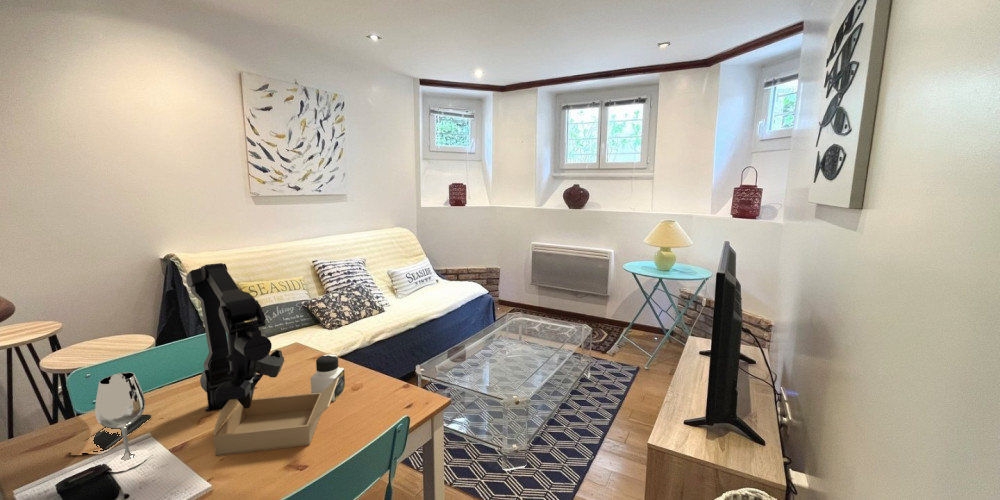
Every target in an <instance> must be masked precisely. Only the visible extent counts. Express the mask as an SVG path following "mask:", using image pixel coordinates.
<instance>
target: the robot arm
mask: <svg viewBox="0 0 1000 500" xmlns="http://www.w3.org/2000/svg"><path fill="white" fill-rule="evenodd" d="M185 281H186V285H187V287H188V288H190V292H191V294H192V295H193V296H194V297H195V299H197V300H198V301H199V302H200V306H201V313H202V318H203V326H204V331H205V336H206V337H205V338H206V341H207V348H208V349H207V350H208V354H207V356H206V358H205V360H204V362H203V370H202V373H201V376H200V377H199V378H200V379H199V382H200V387H201V388H202V389H203V390H204V392H205V393H206V398H207V407H206V408H205V410H204V411H205V412H213V411H214V412H215V411H221V409H222V408H223V407H224V406H225V405H226V403H227V402H228V401H229V400H233V399H237V400H238V401H239V402H240V403H241V405H242V406H243V407H244V408H245V409H246V408H250V406H251V402H252V399H254V398H253V397H254V393H255V388H256V386H257V384H258V383H259V382H260V380H261V379H262V378H263V376H267V377H269V378H273V379H274V378H277V376H278V375H279V374H280V372H281V370H282V367H283V365H284V362H285V356H283V352H282V350H280V349H275V350H274V351H272V352H271V350H272V346H273V344H272V342H271V340H270V339H269V338H268V337H267V336H265V335H264V334H262V330H261V329H259V328H261V327H265V326H266V315H265V313H264V311H263V307H262V306H261V304H260V302H259V301H258V300H257V299H255V297H254V296H253V295H252V294H251V293H250V292H247V291H243V290H241V288H240V287H239V286H238V284H237V283H236V282H235V280H234V279H233V277H232V276H231V274H230V273H229V272H228V266H227V264H226V263H222V262H219V263H211V264H204V265H201V266H200V267H199V268H197V269H191V270H190V271H189V272H188V273H186V277H185ZM255 319H256V320H255ZM270 352H271V353H270Z"/></svg>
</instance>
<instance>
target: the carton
mask: <svg viewBox="0 0 1000 500" xmlns="http://www.w3.org/2000/svg"><path fill="white" fill-rule="evenodd" d="M321 394H322V393H303V394H301V393H300V394H292V395H280V396H271V397H269V396H268V397H261V398H252V402H251V406H250V408H246V409H245V408H244V407H243V406H242V405H241V403H239V404H238V405H237V407H236V408H235V409H234V410H233V412H232V413H231V414H230V415H229V417H228V418H227V419H226V421H225V422H224V423H223V424H222V426H221V427H220V428H219V429H218V431H217V432H216V433H215V435H214V434H213V442H214V444H213V445H214V453H215V455H214V456H215V457H221V456H229V455H238V454H246V453H255V452H261V451H262V452H264V451H271V450H278V449H287V448H295V447H304V446H310V445H311V443H312V441H313V440H312V439H313V438H314V435H315V431H316V430H317V427H318V425H319V421H320V420H321V419H320V418H321V417H322V414H321V415H320V416H319V417H318V418H317V419H316V420H315V421H314V422H313V423H312V424H311V425H309V423H310V421H311V418H312V416H313V413H314V411H315V409H316V406H317V404H318V401H319V399H320V397H321Z"/></svg>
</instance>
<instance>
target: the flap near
mask: <svg viewBox="0 0 1000 500" xmlns="http://www.w3.org/2000/svg"><path fill="white" fill-rule="evenodd" d="M239 403H240V402H239V401H238V400H237V399H233V400H229V401H228V402H227V403H226V405H225V406H224V407H223V408H222V409H221V410H219V413H218V417H217V420H216V422H215V426H214V429H213V432H212V435H213V436H214V435H215V434H216V433H217V432H218V430H219V429H220V428H221V426H222V425H223V424H224V423H225V421H226V420H227V419H228V418H229V416H230V415H231V414H232V412H233V411H234V410H235V409H236V407H237V406H238V405H239Z"/></svg>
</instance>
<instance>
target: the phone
mask: <svg viewBox="0 0 1000 500" xmlns="http://www.w3.org/2000/svg"><path fill="white" fill-rule="evenodd" d="M151 417H152V414H142V415H141V416H140V417H139V418H138V419H137V420H136V421H135V422H134V423H132V424H131V425H129V426H128V427H127V435H128V434H130V433H132V432H133V431H135V430H136V429H137V428H139V427H140V426H141V425H142V424H143V423H145V422H146V421H147V420H149V419H150V418H151ZM151 419H152V418H151ZM151 419H150V420H151ZM150 420H149V421H150ZM146 423H147V422H146ZM146 423H145V424H146ZM141 427H142V426H141ZM141 427H140V428H141ZM104 428H106V427H104V426H103V428H101V429H100V430H98V431H96V432H95V433H94V434H92V435H91V436H90V437H92V436H94V435H95V434H96V435H95V437H94V440H93V441H94V444H96V446H97V445H99V446H100V448H102V449H103V450H100V451H104V450H107V449H109V448H110V447H112V446H113V445H115V444H116V443H117V442H118V441H120V440H121V439H122V438H123V436H122V432H121V436H119V435H120V434H118V432H117V434H116V433H113V434H112V433H111V434H112V435H111V434H109V432H107V431H106V432H107V433H106V432H105V430H104V431H102V432H100V431H101V430H103V429H104ZM140 428H139V429H140ZM137 430H138V429H137ZM137 430H136V431H137ZM136 431H135V432H136ZM133 433H134V432H133ZM133 433H132V434H133ZM117 435H118V436H117ZM88 439H89V437H87V439H85V440H84V441H86V440H88ZM97 447H98V446H97ZM93 452H98V451H93Z"/></svg>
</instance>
